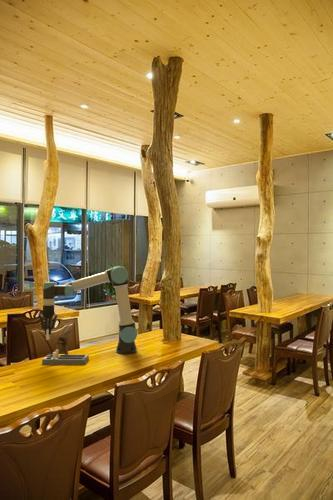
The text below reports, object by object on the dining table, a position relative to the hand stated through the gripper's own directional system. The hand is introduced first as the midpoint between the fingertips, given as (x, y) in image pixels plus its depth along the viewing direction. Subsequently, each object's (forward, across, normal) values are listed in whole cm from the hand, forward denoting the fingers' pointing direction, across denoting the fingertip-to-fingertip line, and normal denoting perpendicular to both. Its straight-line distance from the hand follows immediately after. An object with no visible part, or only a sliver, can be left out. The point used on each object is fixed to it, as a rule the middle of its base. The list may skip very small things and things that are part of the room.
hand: (47, 339), depth 243 cm
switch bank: (+14, -13, +3) cm, 20 cm away
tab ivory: (+13, -6, +5) cm, 15 cm away
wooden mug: (+14, -6, -15) cm, 22 cm away
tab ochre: (+13, -6, 0) cm, 14 cm away
